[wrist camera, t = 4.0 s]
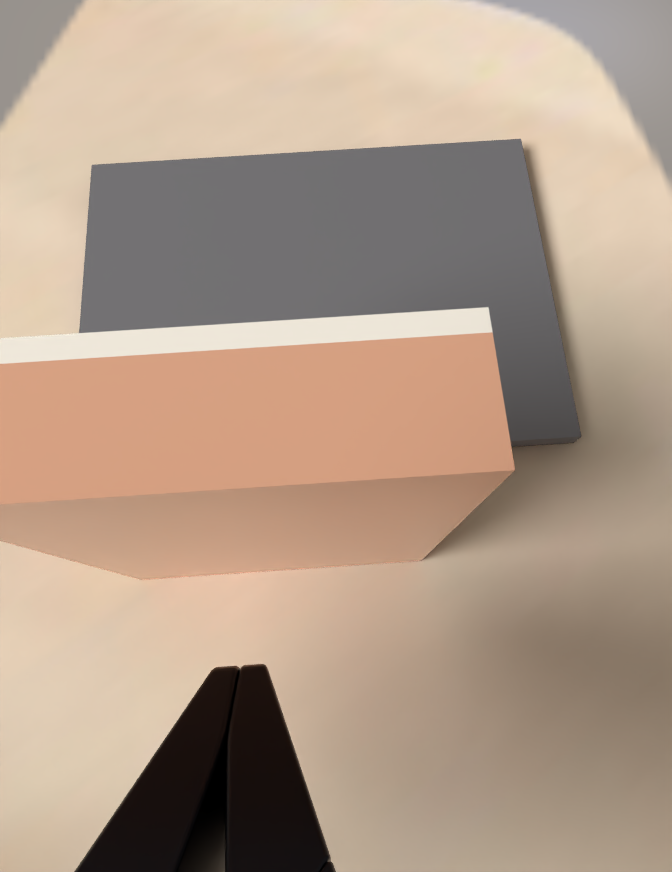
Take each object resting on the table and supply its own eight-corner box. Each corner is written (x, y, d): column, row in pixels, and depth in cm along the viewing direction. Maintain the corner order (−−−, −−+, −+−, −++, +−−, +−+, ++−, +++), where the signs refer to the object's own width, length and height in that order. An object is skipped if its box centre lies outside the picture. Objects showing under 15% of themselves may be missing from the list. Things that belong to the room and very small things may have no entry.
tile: (420, 560, 17) (514, 469, 8) (141, 579, 17) (-106, 511, 8) (412, 479, 18) (488, 307, 9) (143, 497, 18) (-78, 342, 9)
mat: (573, 442, 18) (581, 436, 18) (77, 475, 18) (68, 470, 18) (516, 151, 22) (520, 138, 21) (98, 177, 22) (91, 165, 21)
